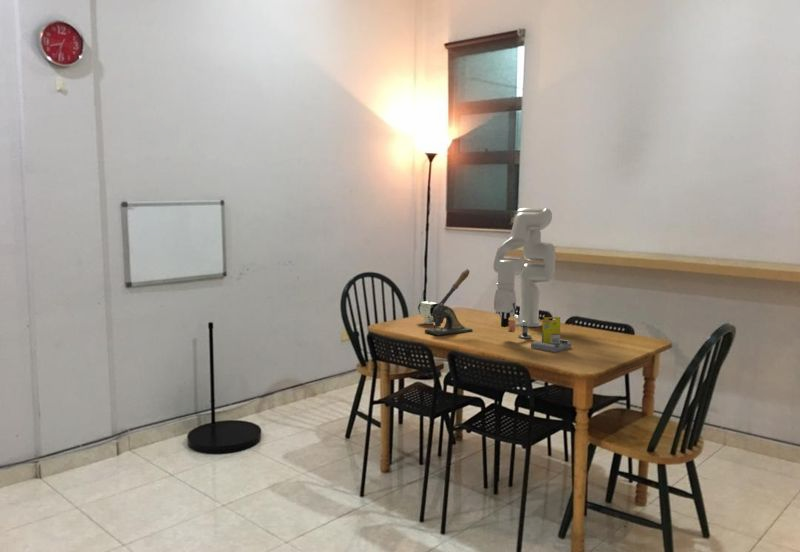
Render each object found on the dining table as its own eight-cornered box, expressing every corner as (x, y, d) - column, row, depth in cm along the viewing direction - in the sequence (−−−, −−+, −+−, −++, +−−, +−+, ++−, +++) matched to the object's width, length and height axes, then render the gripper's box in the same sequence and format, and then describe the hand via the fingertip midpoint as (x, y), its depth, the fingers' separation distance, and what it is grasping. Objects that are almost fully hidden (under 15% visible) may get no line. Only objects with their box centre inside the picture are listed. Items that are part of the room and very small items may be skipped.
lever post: (515, 337, 305) (516, 325, 304) (522, 335, 309) (523, 324, 308) (526, 339, 301) (527, 327, 300) (533, 337, 305) (534, 325, 304)
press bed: (530, 347, 283) (531, 341, 283) (546, 343, 293) (547, 336, 292) (555, 352, 275) (555, 345, 275) (571, 347, 284) (571, 341, 284)
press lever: (505, 331, 297) (505, 320, 296) (523, 327, 307) (524, 316, 307) (513, 332, 294) (514, 321, 293) (531, 328, 304) (532, 317, 304)
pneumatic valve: (423, 321, 342) (424, 298, 340) (440, 324, 333) (440, 301, 332) (416, 322, 338) (416, 299, 337) (432, 326, 330) (432, 302, 328)
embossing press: (423, 332, 314) (424, 270, 310) (461, 327, 327) (463, 268, 323) (436, 336, 304) (437, 272, 301) (475, 331, 317) (477, 270, 314)
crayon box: (558, 342, 285) (559, 316, 284) (560, 343, 283) (561, 317, 281) (541, 342, 285) (542, 315, 284) (542, 343, 283) (544, 317, 281)
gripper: (488, 285, 302) (487, 325, 305) (512, 289, 291) (511, 330, 293) (499, 284, 307) (498, 323, 309) (523, 288, 295) (522, 328, 297)
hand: (504, 326), depth 301 cm, fingers closed
